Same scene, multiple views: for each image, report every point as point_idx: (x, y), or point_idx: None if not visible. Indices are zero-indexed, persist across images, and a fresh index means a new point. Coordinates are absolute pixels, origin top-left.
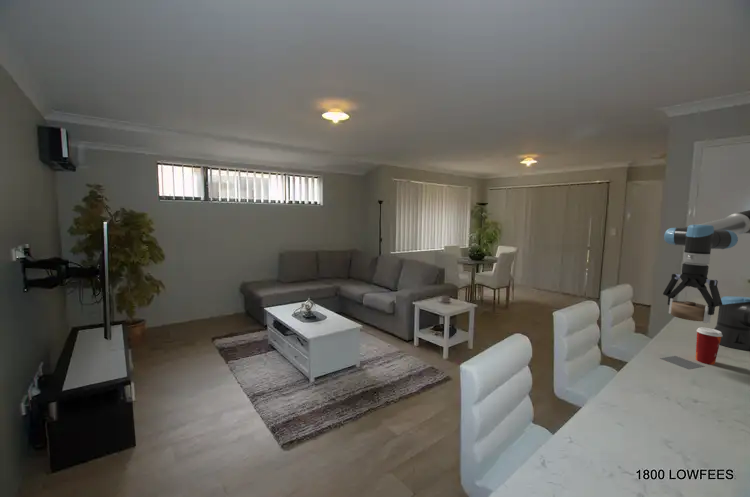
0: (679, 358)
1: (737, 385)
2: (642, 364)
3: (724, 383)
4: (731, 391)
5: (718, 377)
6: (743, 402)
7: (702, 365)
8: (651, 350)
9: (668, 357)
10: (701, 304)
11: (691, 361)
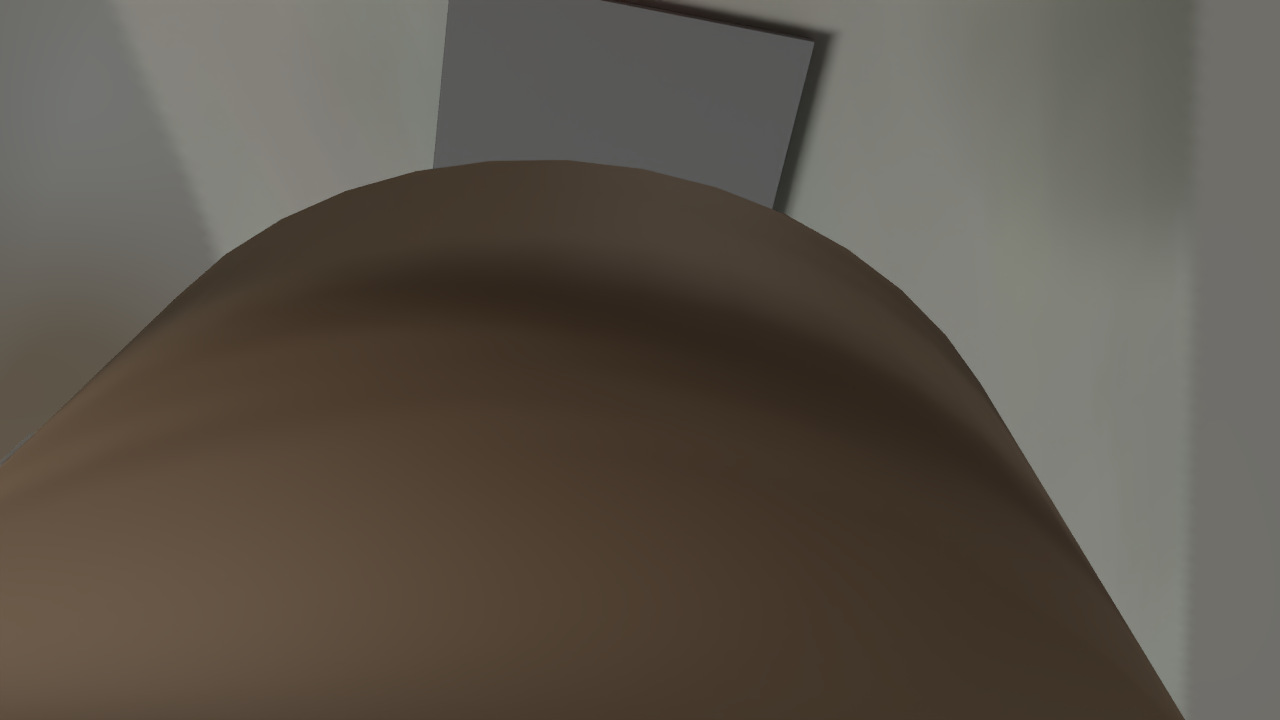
0: (529, 48)
1: (1144, 303)
2: None
3: (1044, 371)
4: (1106, 514)
5: (980, 245)
6: (1185, 650)
7: (789, 41)
8: (167, 7)
9: (446, 160)
10: (799, 542)
11: (658, 12)
